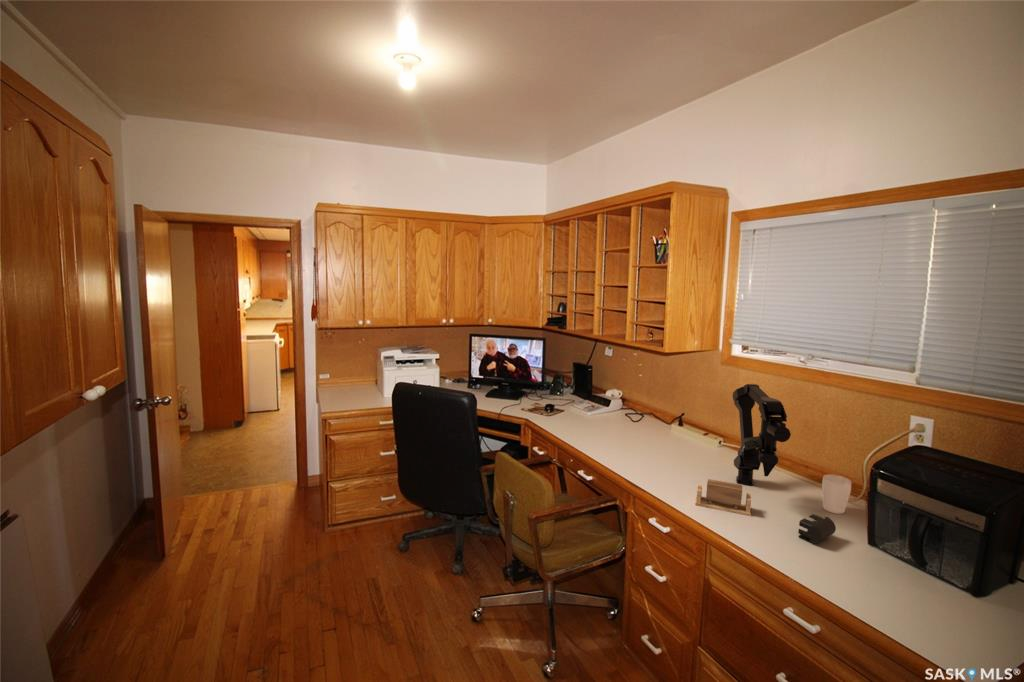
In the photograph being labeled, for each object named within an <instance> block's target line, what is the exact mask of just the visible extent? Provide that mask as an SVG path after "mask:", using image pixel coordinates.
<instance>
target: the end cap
mask: <svg viewBox="0 0 1024 682" xmlns="http://www.w3.org/2000/svg"><path fill="white" fill-rule="evenodd" d="M808 518H810V519H812V520H810V519H807V518H805V517H804V518H802V519H800V520H799V524H798V525H799V527H802V528H804V529H806V530H807V531H805V530H803V529H801V528H798V532H797V533H798V539H801V540H802V541H805V542H806V543H809V544H816V543H819V542H821V541H823V540H824V539H827V538H828V537H831V536H832V535H833V534H835V533H836V531H837V530H836V529H837V527H836V524H835V522H834V520H832V519H831V518H830V517H828V516H826V517H824V518H823V517H821V516H818V515H817V514H814V513H812V514H810V515H809V516H808Z"/></svg>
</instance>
